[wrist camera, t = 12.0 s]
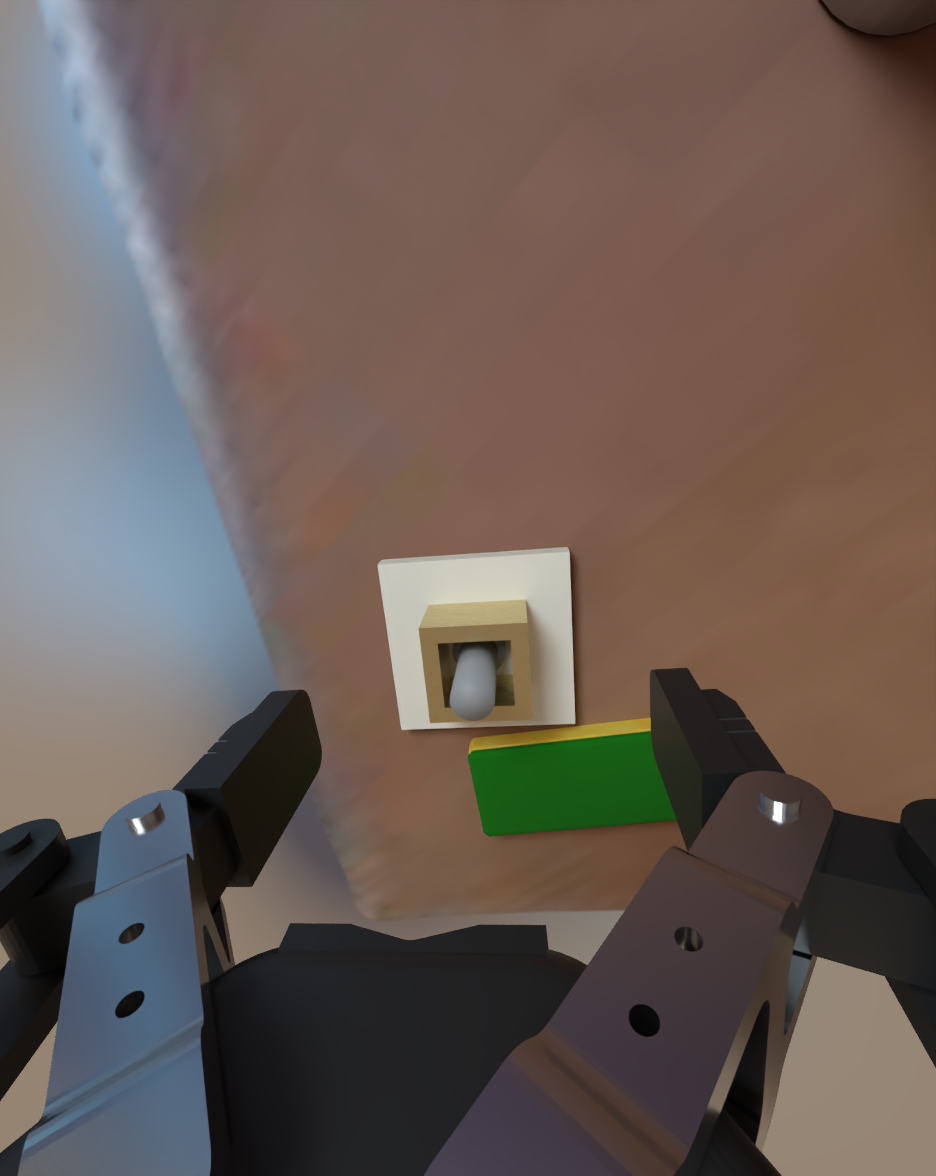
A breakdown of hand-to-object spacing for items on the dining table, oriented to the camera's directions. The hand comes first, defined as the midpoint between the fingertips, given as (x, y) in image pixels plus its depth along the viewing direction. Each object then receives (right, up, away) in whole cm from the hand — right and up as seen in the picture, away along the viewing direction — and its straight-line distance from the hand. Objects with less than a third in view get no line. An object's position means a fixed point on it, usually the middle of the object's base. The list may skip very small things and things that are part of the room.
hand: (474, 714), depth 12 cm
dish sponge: (+7, -10, +27) cm, 30 cm away
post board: (+1, -1, +24) cm, 24 cm away
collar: (+1, -1, +22) cm, 22 cm away
